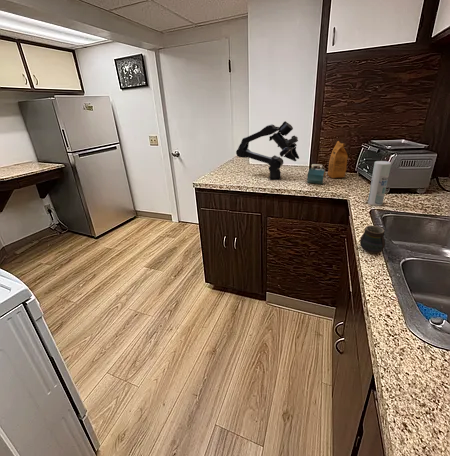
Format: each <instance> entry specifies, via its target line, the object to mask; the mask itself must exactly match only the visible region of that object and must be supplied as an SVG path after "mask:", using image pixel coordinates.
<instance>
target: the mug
mask: <svg viewBox="0 0 450 456" xmlns="http://www.w3.org/2000/svg"><path fill="white" fill-rule="evenodd" d="M315 167H319V168H315ZM326 174H327V173H326V169H325V168H323V164H319V163H312V164H311V167H310V168H308V170H307V176H306V177H307V178H306V181H307V184H318V185H324V183H325V180H326Z"/></svg>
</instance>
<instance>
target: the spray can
mask: <svg viewBox="0 0 450 456" xmlns="http://www.w3.org/2000/svg"><path fill="white" fill-rule="evenodd" d="M391 168H392V161H391V162H390V161H386V160H376V161H374V163H373V169H372V175H371V180H370V181H371V182H370V187H369V193H368V199H367V204H368V205H370V206H375V207H380V206H382V205H383V204H384V199H385V194H386V190H387V185H388V183H389V182H388V181H389V177H390V172H391Z"/></svg>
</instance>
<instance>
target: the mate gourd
mask: <svg viewBox="0 0 450 456" xmlns="http://www.w3.org/2000/svg"><path fill="white" fill-rule="evenodd" d="M384 236H385V229H384V228H382V227H381V226H378V225H371V224H370V225H367V226H365V227H364V231H363V234H362V235H361V236H360V239H359V244H360V247H361V248H362V250H364V251H365V252H367V253H369V254H379V253H381V252H383V250H384V249H385V247H386V240H385V237H384Z"/></svg>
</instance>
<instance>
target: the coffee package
mask: <svg viewBox="0 0 450 456" xmlns="http://www.w3.org/2000/svg"><path fill="white" fill-rule="evenodd" d="M345 147H346V143H341V141H339V140H338V141H336V144H335V145H334V146H333V149H332V151H331V154H330V156H329V160H328V168H327V176H328V177H329V178H331V179H337V178H340V179H341V178H345V177H346V173H347V165H348V158H349V155H348V153H347V151H346V149H345Z"/></svg>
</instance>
